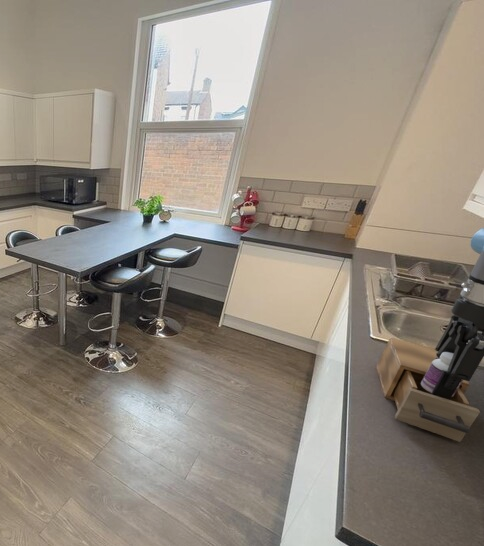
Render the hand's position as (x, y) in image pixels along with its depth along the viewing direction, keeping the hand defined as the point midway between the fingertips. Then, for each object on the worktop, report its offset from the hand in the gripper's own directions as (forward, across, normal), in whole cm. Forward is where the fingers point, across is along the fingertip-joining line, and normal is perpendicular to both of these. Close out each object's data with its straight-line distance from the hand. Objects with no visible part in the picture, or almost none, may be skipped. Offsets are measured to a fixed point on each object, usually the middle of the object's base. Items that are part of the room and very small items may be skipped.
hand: (436, 389), depth 74 cm
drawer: (+8, +1, 0) cm, 8 cm away
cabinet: (+9, -12, 0) cm, 15 cm away
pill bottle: (+1, 0, 0) cm, 1 cm away
